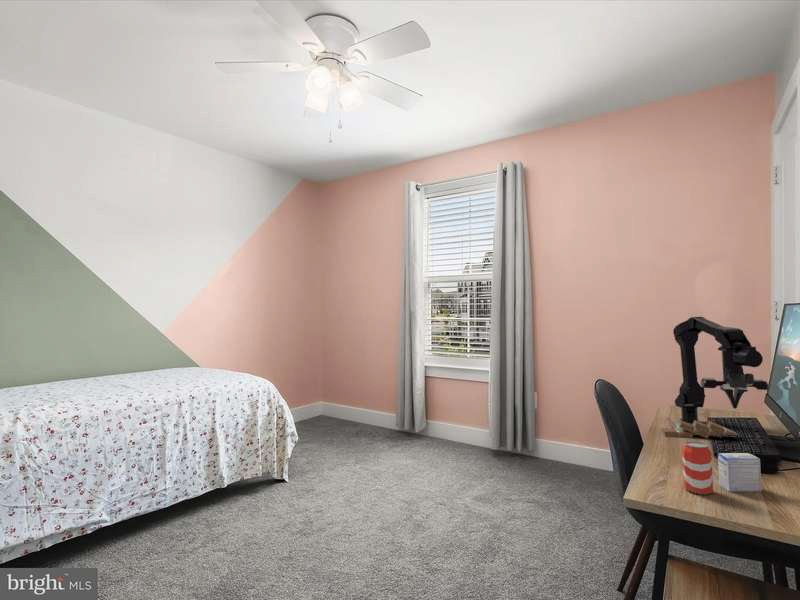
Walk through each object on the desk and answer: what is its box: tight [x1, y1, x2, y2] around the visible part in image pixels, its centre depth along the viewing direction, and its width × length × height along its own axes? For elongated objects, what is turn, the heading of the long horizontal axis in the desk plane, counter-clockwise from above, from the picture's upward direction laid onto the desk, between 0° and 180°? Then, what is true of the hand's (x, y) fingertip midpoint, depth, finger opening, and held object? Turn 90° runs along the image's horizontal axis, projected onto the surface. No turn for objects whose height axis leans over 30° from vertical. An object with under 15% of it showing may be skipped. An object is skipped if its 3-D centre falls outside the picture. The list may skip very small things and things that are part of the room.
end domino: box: [675, 422, 696, 435], centre depth 176 cm, size 2×5×9 cm
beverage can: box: [681, 440, 714, 495], centre depth 119 cm, size 6×6×12 cm
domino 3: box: [692, 420, 723, 437], centre depth 166 cm, size 2×5×9 cm
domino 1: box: [660, 427, 694, 439], centre depth 170 cm, size 2×5×9 cm
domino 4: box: [706, 420, 740, 436], centre depth 164 cm, size 2×5×9 cm
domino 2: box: [678, 419, 710, 439], centre depth 168 cm, size 2×5×9 cm
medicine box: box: [717, 452, 762, 492], centre depth 119 cm, size 8×4×9 cm, turn 84°
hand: (734, 408), depth 163 cm, fingers closed
